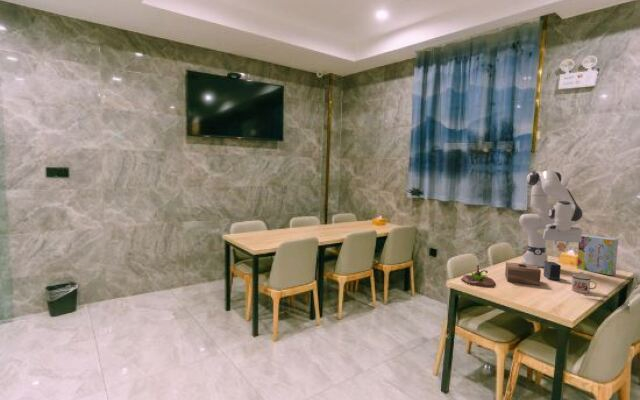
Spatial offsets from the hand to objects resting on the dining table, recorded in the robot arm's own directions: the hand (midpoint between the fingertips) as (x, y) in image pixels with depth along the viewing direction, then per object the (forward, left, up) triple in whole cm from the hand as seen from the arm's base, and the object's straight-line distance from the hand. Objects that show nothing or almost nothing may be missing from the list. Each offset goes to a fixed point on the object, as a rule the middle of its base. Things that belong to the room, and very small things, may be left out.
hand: (561, 248), depth 227 cm
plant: (+21, -48, -24) cm, 58 cm away
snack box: (-48, +34, -23) cm, 63 cm away
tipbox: (+5, -21, -23) cm, 32 cm away
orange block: (0, 0, -2) cm, 2 cm away
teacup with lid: (+13, +10, -23) cm, 29 cm away
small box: (-12, -1, -23) cm, 26 cm away
